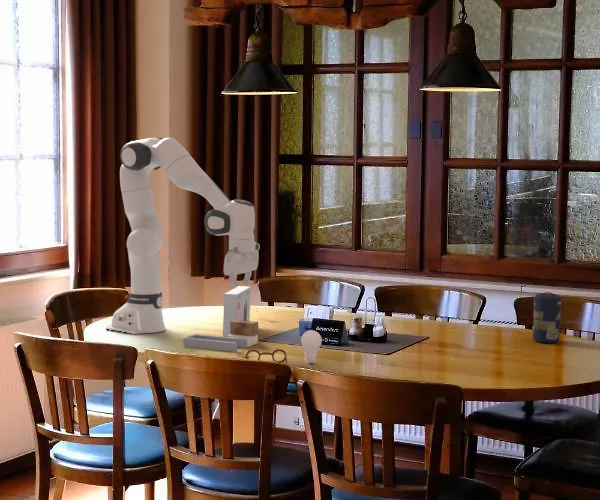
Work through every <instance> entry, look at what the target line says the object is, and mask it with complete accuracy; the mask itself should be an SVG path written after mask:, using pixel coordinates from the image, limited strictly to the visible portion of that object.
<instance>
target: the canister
mask: <svg viewBox="0 0 600 500" xmlns="http://www.w3.org/2000/svg"><path fill="white" fill-rule="evenodd" d="M533 299H534V300H533V314H532V316H533V324H532V325H533V326H532V340H534V341H536V342H537V343H538V342H540V343H547V344H551V343H552V344H553V343H554V344H555V343H558V342H559V341H560V338H561V337H560V333H561V332H560V331H561V312H562V311H561V310H562V297H561V296H560V295H559V294H555V293H553V292H548V291H546V292H545V291H544V292H541V293H537V294H535V295H534V297H533Z"/></svg>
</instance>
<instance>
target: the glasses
mask: <svg viewBox="0 0 600 500" xmlns="http://www.w3.org/2000/svg"><path fill="white" fill-rule="evenodd" d="M252 352H255V353H256V354H257V355H258V357H257V360H259V361H260V359H261V356H263V355H269V356H271V358H272V359H271V360H272V361H273V362H274V361H276V362H282V363H284V362H285V365H286V364H288V359H287V353H286V351H285V350H284V349H281V348H278V349H275V350H273V351H272V352H260V351H259V350H257V349H249V350H247V352H246V353H245V360H246V359H248V360H249V356H248V355H249V354H250V353H252ZM277 352H281V353H283V354H284V358H283V359H282V360H276V359H275V358H274V357H275V356H274V355H275V354H276V353H277ZM276 362H275V363H276Z"/></svg>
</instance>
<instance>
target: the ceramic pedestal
mask: <svg viewBox="0 0 600 500" xmlns="http://www.w3.org/2000/svg"><path fill="white" fill-rule="evenodd" d="M258 335H259V334H258ZM258 335H256V336H243V335H232V334H229V335H227V336H226V337H232V338H242V339H246V347H245V348H249V347H251V346H253V345H256V344H258V343H259V342H258V341H259V338H258Z"/></svg>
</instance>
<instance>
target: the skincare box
mask: <svg viewBox="0 0 600 500" xmlns="http://www.w3.org/2000/svg"><path fill="white" fill-rule="evenodd" d="M251 292H252V286H246V285H245V286H244V285H238V286H237V287H236V288H233V289H230V290H229V291H226V292H225V293H224V294H223V296H224V298H223V319H222V320H223V321H222V322H223V323H222V337H227V335H229V334H230V322H231V321H234V320H243V321H251V320H250V318H251V317H250V316H251V297H252V296H251V295H252V293H251Z"/></svg>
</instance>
